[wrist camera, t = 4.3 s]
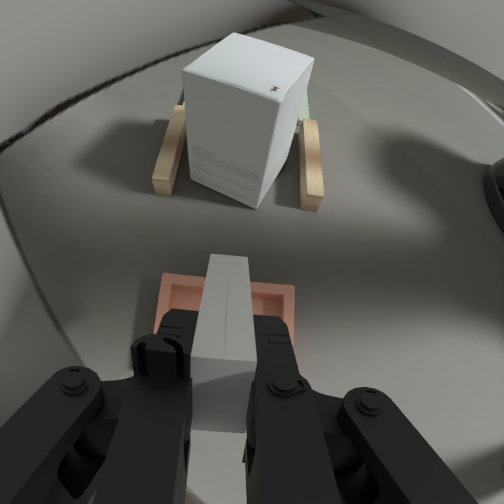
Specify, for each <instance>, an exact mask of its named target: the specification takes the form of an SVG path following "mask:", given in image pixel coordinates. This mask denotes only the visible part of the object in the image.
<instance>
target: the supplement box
mask: <svg viewBox="0 0 504 504" xmlns="http://www.w3.org/2000/svg"><path fill="white" fill-rule="evenodd" d="M313 63H314V58H313V57H310V56H307V55H304V54H302V53H299V52H296V51H293V50H290V49H287V48H284V47H281V46H278V45H275V44H271V43H268V42H265V41H262V40H258V39H255V38H251V37H248V36H244V35H241V34H237V33H232V34H231V35H229V36H228V37H226V38H225V39H223V40H222V41H221V42H219V43H218V44H216V45H215V46H213V47H212V48H211V49H209V50H208V51H207V52H205V53H204V54H203V55H201V56H200V57H199V58H197V59H196V60H194V61H193V62H192V63H190V64H189V65H188V66H186V67H185V68H184V69H182V75H183V87H184V103H185V118H186V133H187V146H188V158H189V168H190V178H191V180H193V181H196V182H198V183H200V184H202V185H204V186H207V187H209V188H211V189H213V190H215V191H218V192H220V193H222V194H224V195H226V196H228V197H231V198H233V199H235V200H237V201H239V202H241V203H243V204H246V205H248V206H250V207H252V208H254V209H257V208H258V206H259V205H260V203H261V201H262V200H263V198H264V196H265V195H266V193H267V191H268V190H269V188H270V186H271V185H272V183H273V182H274V180H275V178H276V177H277V175H278V174H279V172H280V170H281V169H282V167H283V165H284V164H285V162H286V160H287V157H288V153H289V150H290V146H291V142H292V139H293V135H294V132H295V128H296V124H297V121H298V117H299V114H300V110H301V107H302V103H303V100H304V96H305V92H306V89H307V85H308V81H309V78H310V74H311V70H312V67H313Z"/></svg>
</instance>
